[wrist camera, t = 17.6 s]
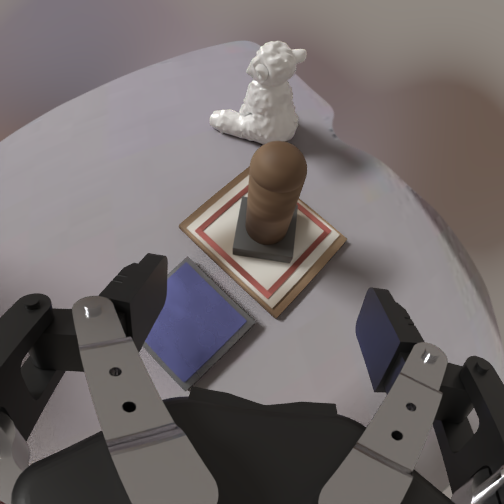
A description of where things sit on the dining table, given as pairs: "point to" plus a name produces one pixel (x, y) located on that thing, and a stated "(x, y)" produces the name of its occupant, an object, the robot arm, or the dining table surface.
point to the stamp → (271, 203)
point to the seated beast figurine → (265, 98)
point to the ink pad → (194, 325)
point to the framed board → (260, 270)
